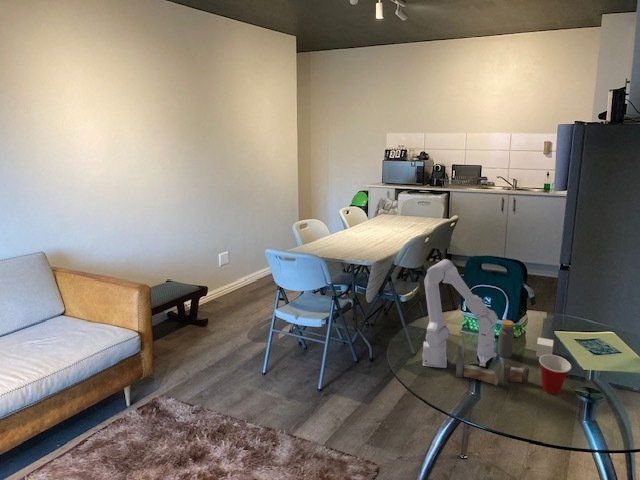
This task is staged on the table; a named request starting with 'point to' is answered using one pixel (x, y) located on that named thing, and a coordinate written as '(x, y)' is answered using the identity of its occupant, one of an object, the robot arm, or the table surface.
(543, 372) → the plastic cup
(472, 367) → the gate
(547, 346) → the white cube
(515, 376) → the fence
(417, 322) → the table surface
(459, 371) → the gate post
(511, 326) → the bottle
